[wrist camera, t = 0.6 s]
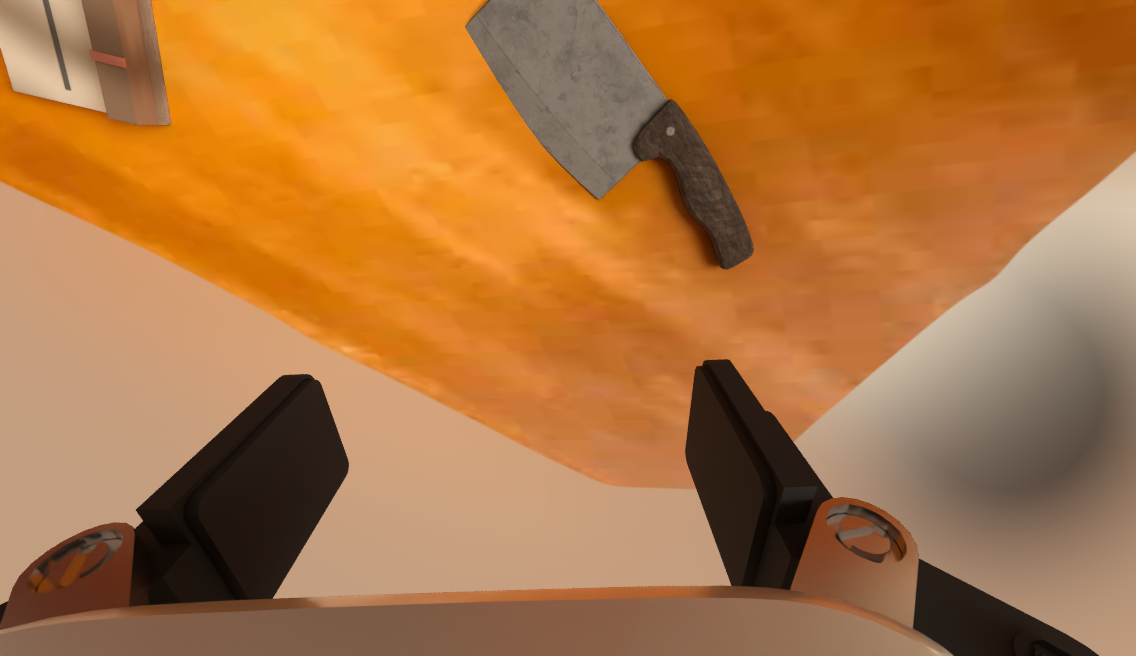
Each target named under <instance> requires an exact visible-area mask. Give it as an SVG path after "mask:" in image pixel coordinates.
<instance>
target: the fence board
mask: <svg viewBox="0 0 1136 656" xmlns="http://www.w3.org/2000/svg"><path fill="white" fill-rule="evenodd" d="M0 48H1V51H2V54H3V57H4V61H5V64H6V67H7V71H8V74H9V77H10V80H11V84H12V87H13V90H14V91H16V92H20V93H25V94H29V95H33V96H37V97H42V98H46V99H50V100H55V101H59V102H63V103H67V104H72V105H76V106H80V107H84V108H89V109H93V110H97V111H102V112H106V113H107V117H108V118H109V119H113V120H118V121H122V122H126V123H131V124H135V125H171V120H170V114H169V108H168V102H167V96H166V90H165V84H164V78H163V72H162V66H161V60H160V54H159V48H158V41H157V35H156V29H155V23H154V17H153V11H152V5H151V0H0Z"/></svg>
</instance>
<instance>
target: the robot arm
mask: <svg viewBox="0 0 1136 656" xmlns="http://www.w3.org/2000/svg"><path fill="white" fill-rule="evenodd" d="M685 453H686V461H687V465H688V467H689V470H690V473H691V476H692V478H693V481H694V484H695V487H696V489H697V492H698V495H699V497H700V500H701V503H702V506H703V509H704V511H705V514H706V517H707V520H708V522H709V525H710V528H711V530H712V533H713V536H714V539H715V542H716V544H717V547H718V550H719V552H720V555H721V558H722V561H723V564H724V566H725V569H726V572H727V575H728V577H729V580H730V583H731V586H648V587H610V588H609V587H608V588H572V589H537V590H505V591H504V590H503V591H475V592H443V593H415V594H386V595H359V596H358V595H357V596H332V597H309V598H308V597H307V598H282V599H273V597H274V595H275V594H276V592H277V590H278V589H279V587H280V585H281V584H282V582H283V580H284V578H285V577H286V575H287V574H288V572H289V570H290V569H291V567H292V565H293V564H294V562H295V560H296V559H297V557H298V555H299V554H300V552H301V550H302V549H303V547H304V545H305V543H306V542H307V540H308V539H309V537H310V535H311V534H312V532H313V530H314V529H315V527H316V525H317V524H318V522H319V520H320V519H321V517H322V515H323V514H324V512H325V510H326V509H327V507H328V505H329V504H330V502H331V500H332V499H333V497H334V495H335V494H336V492H337V490H338V489H339V487H340V486H341V484H342V482H343V480H344V479H345V477H346V475H347V473H348V468H349V462H348V458H347V456H346V453H345V450H344V447H343V444H342V441H341V439H340V436H339V433H338V430H337V427H336V425H335V422H334V419H333V416H332V413H331V411H330V408H329V405H328V402H327V399H326V397H325V394H324V391H323V388H322V385H321V383H320V382H319V381H318V380H314V378H313V377H312V376H311V375H308V374H300V375H283V376H281V377H280V378H278V379H277V380H276V381H275V382H274V383H273V384H272V385H271V386H270V387H269V388H268V389H267V390H265V391H264V392H263V393H262V394H261V395H260V396H259V397H258V398H257V399H256V400H255V401H253V402H252V403H251V404H250V405H249V406H248V407H247V408H246V409H245V410H244V411H243V412H241V413H240V414H239V415H238V416H237V417H236V418H235V419H234V420H233V421H232V422H231V423H230V424H229V425H227V426H226V427H225V428H224V429H223V430H222V431H221V432H220V433H219V434H218V435H217V436H215V437H214V438H213V439H212V440H211V441H210V442H209V443H208V444H207V445H206V446H205V447H203V449H201V450H200V451H199V452H198V453H197V454H196V455H195V456H194V457H193V458H192V459H190V461H188V462H187V463H186V464H185V465H184V466H183V467H182V468H181V469H180V470H179V471H178V472H176V473H175V474H174V475H173V476H172V477H171V478H170V479H169V480H168V481H167V482H166V483H164V485H162V486H161V487H160V488H159V489H158V490H157V491H156V492H155V493H154V494H153V495H151V496H150V497H149V498H148V499H147V500H146V501H145V502H144V503H143V504H142V505H140V506H139V507H138V508H137V509H136V511H137V512H138V514H139V515H140V517H141V518H142V520H143V522H142V523H141V524H140V525H139V526H137V527H136V529H134V528H133V527H132V526H131V525H129V524H127V523H110V524H105V525H100V526H97V527H94V528H91V529H88V530H85V531H83V532H81V533H79V534H77V535H75V536H72V537H70V538H68V539H66V540H65V541H63V542H61V543H59V544H58V545H56V546H55V547H53V548H51V549H50V550H49V551H47V552H46V553H44V554H43V555H42V556H40V557H39V558H38V559H37V560H35V561H34V562H33V563H31V565H30V566H29V567H28V568H27V569H26V570H25V571H24V572H23V573H22V574H21V575H20V576H19V578H18V580H17V581H16V583H15V585H14V586H13V588H12V592H11V595H10V597H9V601H7V602H5V603H3V604H1V605H0V656H1099V655H1097V654H1096V653H1095V652H1094V651H1092V650H1091V649H1089V648H1088V647H1087V646H1085V645H1083V644H1082V643H1080V642H1078V641H1077V640H1075V639H1073V638H1072V637H1070V636H1068V635H1067V634H1065V633H1063V632H1061V631H1059V630H1057V629H1055V628H1053V627H1051V626H1049V625H1047V624H1045V623H1043V622H1042V621H1039V620H1038V619H1036V618H1034V617H1032V616H1030V615H1028V614H1026V613H1024V612H1022V611H1020V610H1018V609H1016V608H1014V607H1012V606H1010V605H1008V604H1006V603H1005V602H1003V601H1001V600H999V599H996V598H995V597H993V596H991V595H989V594H987V593H985V592H983V591H981V590H979V589H977V588H975V587H973V586H971V585H969V584H967V583H966V582H963V581H961V580H960V579H958V578H956V577H954V576H952V575H950V574H948V573H946V572H944V571H942V570H940V569H938V568H936V567H934V566H932V565H930V564H929V563H927V562H924V561H923V560H921V559H919V554H918V548H917V544H916V542H915V541H914V539H913V537H912V535H911V534H910V532H909V531H908V530H907V529H906V528H905V527H904V526H903V525H902V524H901V523H900V522H899V521H898V520H897V519H895V518H894V517H892V516H891V515H890V514H888V513H887V512H886V511H884V510H882V509H880V508H877V507H876V506H874V505H872V504H870V503H867V502H864V501H861V500H857V499H852V498H844V497H841V498H833V497H832V496H831V494H830V493H829V492H828V490H827V489H826V487H825V486H824V485H823V483H822V482H821V480H820V479H819V478H818V476H817V475H816V473H815V472H814V471H813V469H812V468H811V466H810V465H809V464H808V462H807V461H806V459H805V458H804V457H803V455H802V454H801V452H800V451H799V450H798V448H797V447H796V445H795V444H794V443H793V441H792V440H791V438H790V437H789V436H788V434H787V433H786V431H785V430H784V429H783V427H782V426H781V424H780V423H779V422H778V420H777V419H776V417H775V416H774V415H773V414H772V413H771V412H768V411H765V410H764V409H763V407H762V406H761V404H760V403H759V401H758V400H757V399H756V397H755V396H754V394H753V393H752V391H751V390H750V389H749V387H748V386H747V384H746V383H745V381H744V380H743V378H742V377H741V376H740V374H739V373H738V371H737V370H736V368H735V367H734V365H733V364H732V363H731V361H730V360H727V359H725V360H705V361H704V362H703V365H702V366H697V367H696V369H695V375H694V383H693V391H692V399H691V408H690V416H689V424H688V432H687V440H686V449H685Z"/></svg>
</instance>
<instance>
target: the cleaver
mask: <svg viewBox="0 0 1136 656" xmlns="http://www.w3.org/2000/svg"><path fill="white" fill-rule="evenodd" d="M465 28H466V29H467V31H468V33H469V34H470V36H471V38H472V39H473V41H474V43H475V44H476V46H477V48H478V49H479V51H480V53H481V54H482V56H483V58H484V59H485V61H486V62H487V64H488V66H489V67H490V69H491V71H492V72H493V74H494V75H495V77H496V79H497V80H498V82H499V83H500V85H501V87H502V88H503V90H504V91H505V93H506V94H507V96H508V97H509V99H510V100H511V102H512V104H513V105H514V107H515V108H516V109H517V111H518V112H519V114H520V115H521V117H522V118H523V120H524V121H525V123H526V124H527V125H528V127H529V128H530V130H531V131H532V132H533V134H534V135H535V136H536V138H537V139H538V141H539V142H540V143H541V144H542V146H543V147H544V148H545V149H546V150H547V151H548V152H549V153H550V154H551V155H552V156H553V157H554V158H555V159H556V160H557V162H558V163H559V164H560V165H561V166H562V167H563V168H564V169H565V170H567V171H568V172H569V173H570V174H571V175H572V176H573V177H574V178H575V179H576V180H577V181H578V182H579V183H580V184H581V185H583V186H584V187H585V188H586V189H587V190H588V191H589V192H590V193H592V194H593V195H594V196H595V197H596V198H597V199H598V200H599V199H600V198H602V197H603V196H604V195H605V194H606V193H607V192H608V191H609V190H610V189H611V188H612V187H614V186H615V185H616V184H617V183H618V182H619V181H620V180H621V179H622V178H623V177H624V176H625V175H626V174H627V173H628V172H629V171H630V170H631V169H632V168H633V167H634V166H636V165H637V164H638V163H639V162H640V161H641V162H642V161H646V160H650V159H653V158H657V157H659V158H662V159H664V160H666V161H667V162H668V163H669V165H670V166H671V167H672V168H673V171H674V173H675V175H676V178H677V181H678V185H679V189H680V193H681V197H682V200H683V202H684V205H685V207H686V209H687V210H688V212H689V213H690V214H691V216H692V217H693V218H694V219H695V220H696V221H697V222H698V223H699V224H700V225H701V226H702V227H703V228H704V229H705V230H706V232H707V233H708V235H709V236H710V238H711V241H712V244H713V247H714V251H715V254H716V258H717V261H718V263H719V265H720V267H721V268H722V269H729V268H732V267H734V266H736V265H738V264H739V263H741V262H743V261H744V260H746V259H748V258H749V257H750V256H752V253H753V251H754V248H753V243H752V240H751V237H750V234H749V231H748V229H747V226H746V224H745V221H744V219H743V217H742V214H741V212H740V210H739V208H738V206H737V204H736V202H735V200H734V197H733V195H732V193H731V191H730V189H729V187H728V185H727V184H726V182H725V180H724V178H723V176H722V174H721V172H720V170H719V168H718V167H717V165H716V163H715V161H714V159H713V157H712V156H711V154H710V152H709V151H708V149H707V147H706V145H705V144H704V142H703V141H702V139H701V137H700V136H699V134H698V133H697V131H696V130H695V128H694V127H693V125H692V124H691V122H690V121H689V119H688V118H687V116H686V115H685V114H684V112H683V111H682V109H681V108H680V107H679V106H678V104H677V103H676V102H675V101H673V100H672V99H670V100H669V101H668V99H667V98H666V97H665V95H664V94H663V92H662V91H661V90H660V88H659V87H658V85H657V84H656V83H655V81H654V80H653V78H652V77H651V76H650V74H649V73H648V71H647V70H646V69H645V67H644V66H643V64H642V63H641V62H640V60H639V59H638V57H637V56H636V55H635V53H634V52H633V50H632V49H631V47H630V46H629V45H628V43H627V42H626V40H625V39H624V38H623V36H622V35H621V33H620V32H619V31H618V29H617V28H616V27H615V25H614V24H613V22H612V21H611V20H610V18H609V17H608V15H607V14H606V13H605V11H604V10H603V9H602V7H601V6H600V5H599V4H598V2H597V1H596V0H490V1H489V2H488V3H487V4H486V5H485V6H484V7H483V8H482V9H481V10H480V11H479V12H478V13H477V14H476V15H475V16H474V17H473V18H472V20H471V21H470V22H469V23H468V24H467V25H466V26H465Z"/></svg>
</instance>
